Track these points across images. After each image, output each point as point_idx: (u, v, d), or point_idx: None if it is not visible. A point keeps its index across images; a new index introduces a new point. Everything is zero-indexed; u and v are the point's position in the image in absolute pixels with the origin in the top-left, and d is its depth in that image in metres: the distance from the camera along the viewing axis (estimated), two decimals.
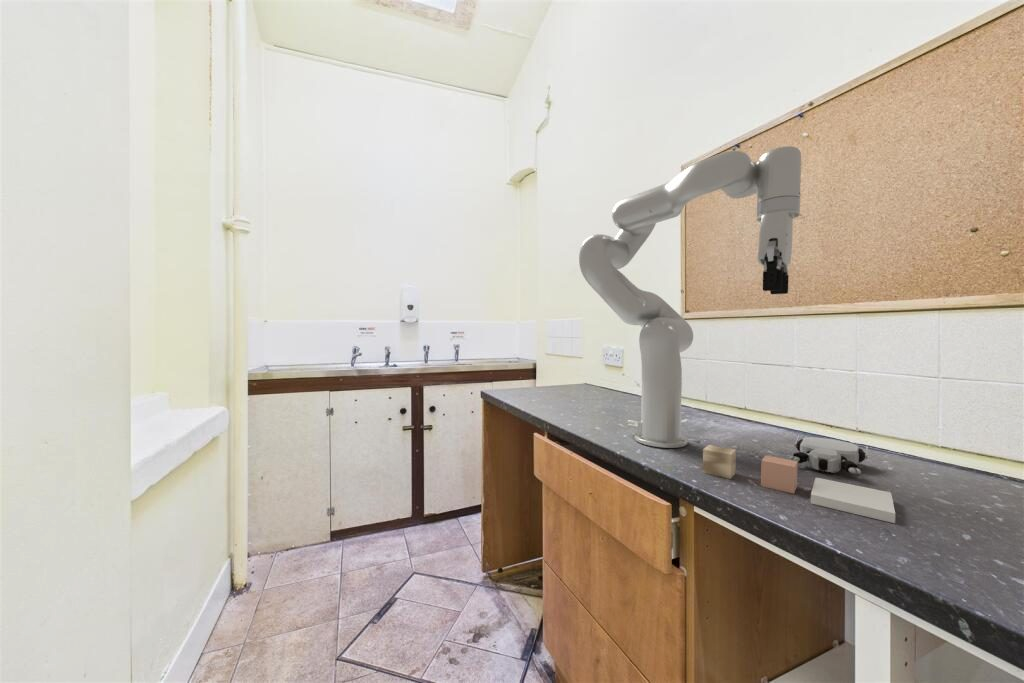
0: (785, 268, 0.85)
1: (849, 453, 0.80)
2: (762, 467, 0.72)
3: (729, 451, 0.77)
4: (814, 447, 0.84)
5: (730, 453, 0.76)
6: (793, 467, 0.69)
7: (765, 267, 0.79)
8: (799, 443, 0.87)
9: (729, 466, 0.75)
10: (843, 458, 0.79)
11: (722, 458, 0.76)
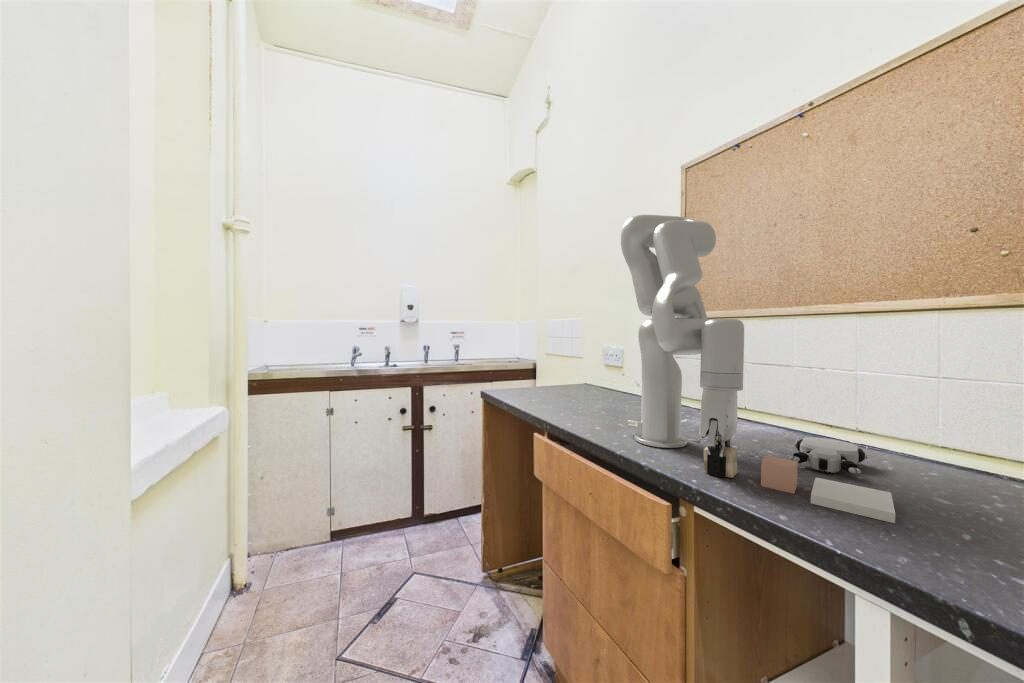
0: (728, 441, 0.79)
1: (849, 453, 0.80)
2: (762, 467, 0.72)
3: (729, 449, 0.77)
4: (814, 447, 0.84)
5: (730, 451, 0.76)
6: (793, 467, 0.69)
7: (709, 453, 0.76)
8: (799, 443, 0.88)
9: (730, 464, 0.75)
10: (843, 458, 0.79)
11: None
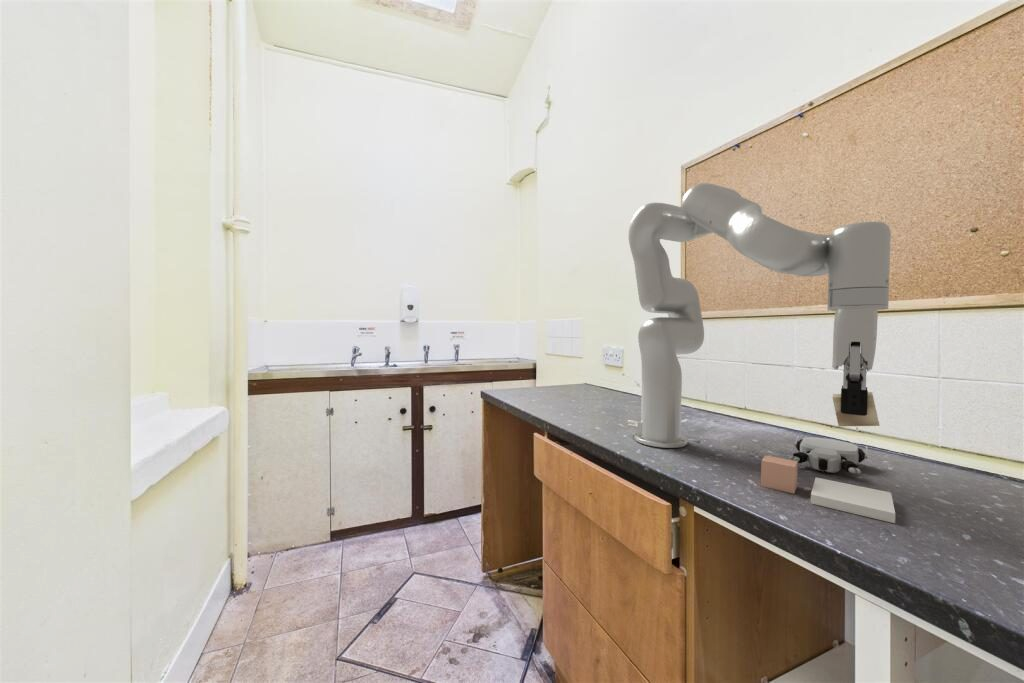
0: None
1: (849, 453, 0.80)
2: (762, 467, 0.72)
3: None
4: (814, 447, 0.84)
5: (870, 394, 0.62)
6: (793, 467, 0.69)
7: (845, 387, 0.63)
8: (799, 443, 0.88)
9: (874, 410, 0.62)
10: (843, 458, 0.79)
11: None
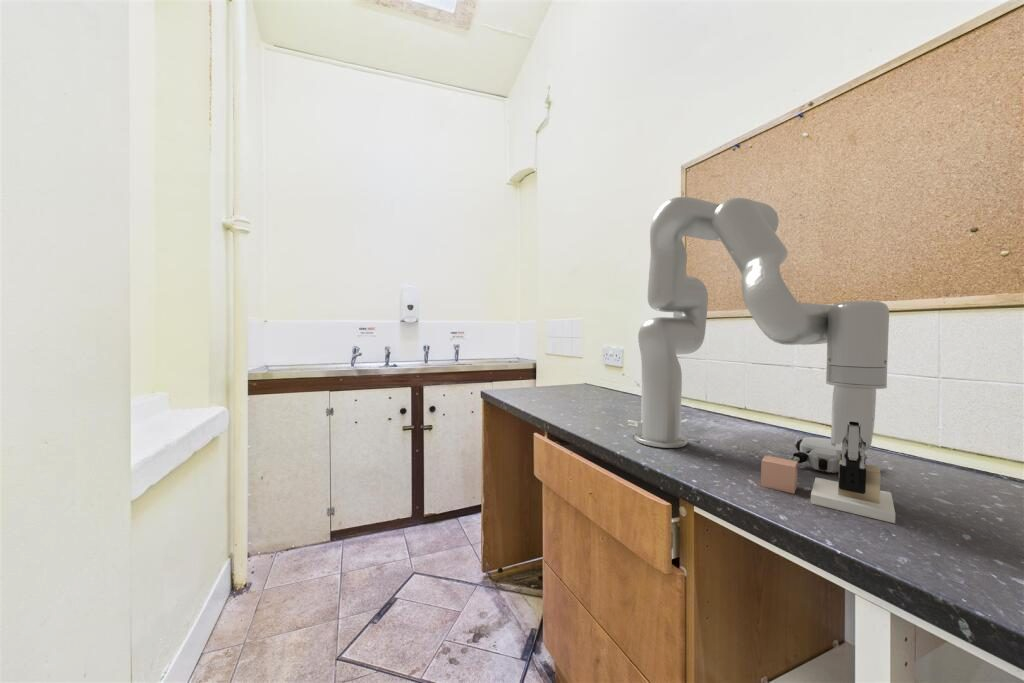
0: (862, 447, 0.66)
1: None
2: (762, 467, 0.72)
3: (874, 468, 0.63)
4: (814, 447, 0.84)
5: (878, 471, 0.62)
6: (793, 467, 0.69)
7: (843, 464, 0.62)
8: (799, 443, 0.88)
9: (878, 487, 0.61)
10: None
11: (867, 478, 0.62)
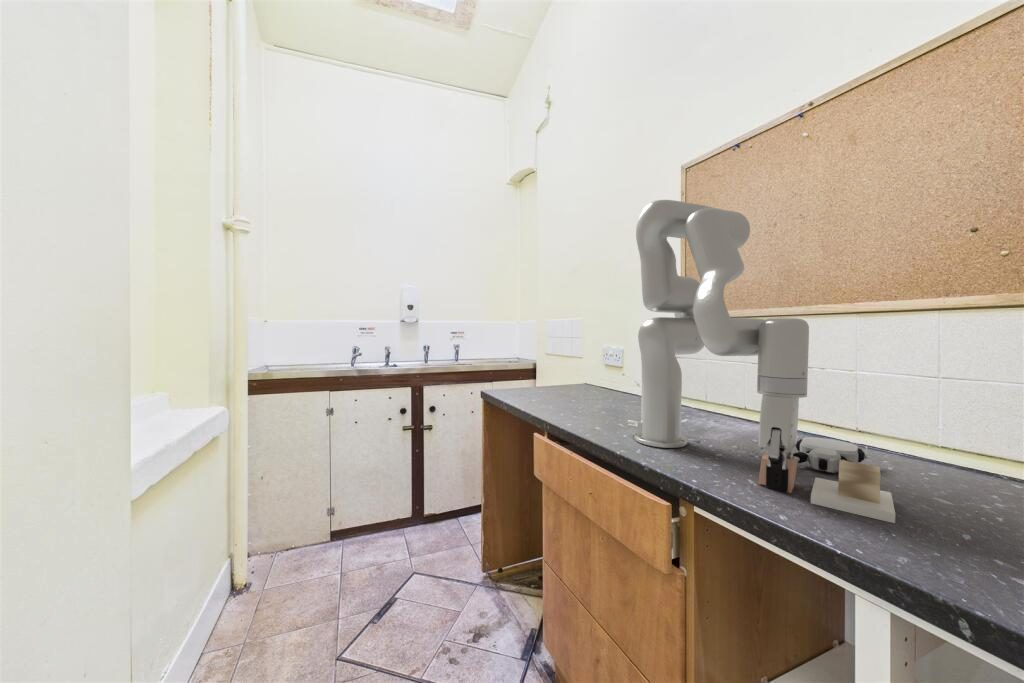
0: (788, 451, 0.72)
1: (849, 453, 0.80)
2: (761, 465, 0.72)
3: (874, 468, 0.63)
4: (814, 447, 0.84)
5: (878, 471, 0.62)
6: (793, 467, 0.69)
7: (769, 466, 0.70)
8: (799, 443, 0.88)
9: (878, 487, 0.61)
10: (843, 458, 0.79)
11: (867, 478, 0.62)
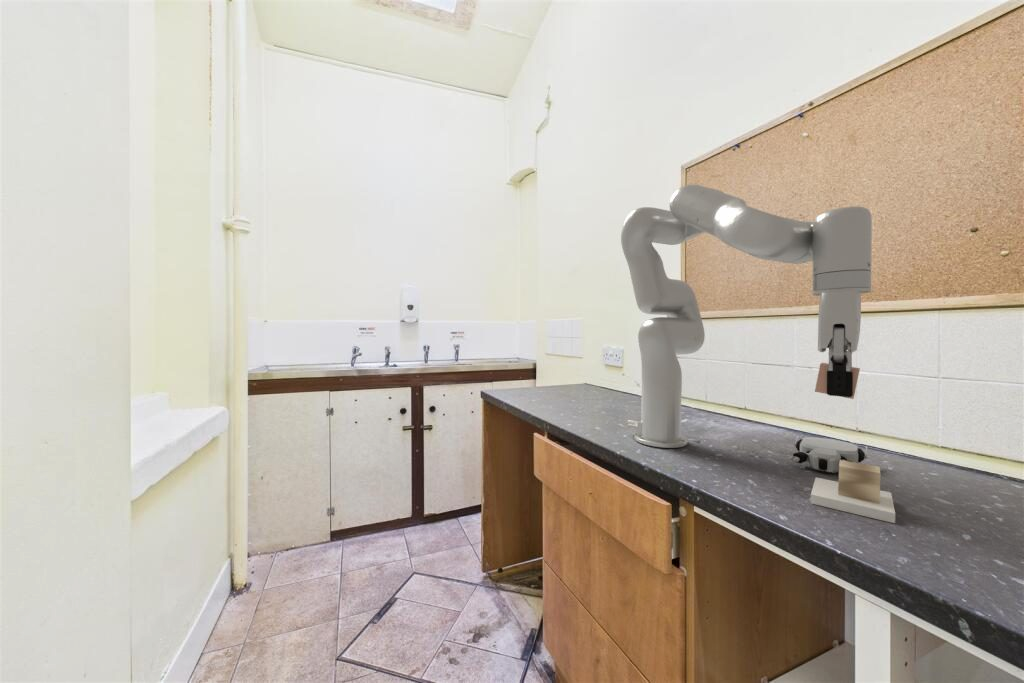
0: None
1: (849, 453, 0.80)
2: (819, 371, 0.66)
3: (874, 468, 0.63)
4: (814, 447, 0.84)
5: (878, 471, 0.62)
6: (857, 370, 0.63)
7: (830, 369, 0.64)
8: (799, 443, 0.88)
9: (878, 487, 0.61)
10: (843, 458, 0.79)
11: (867, 478, 0.62)
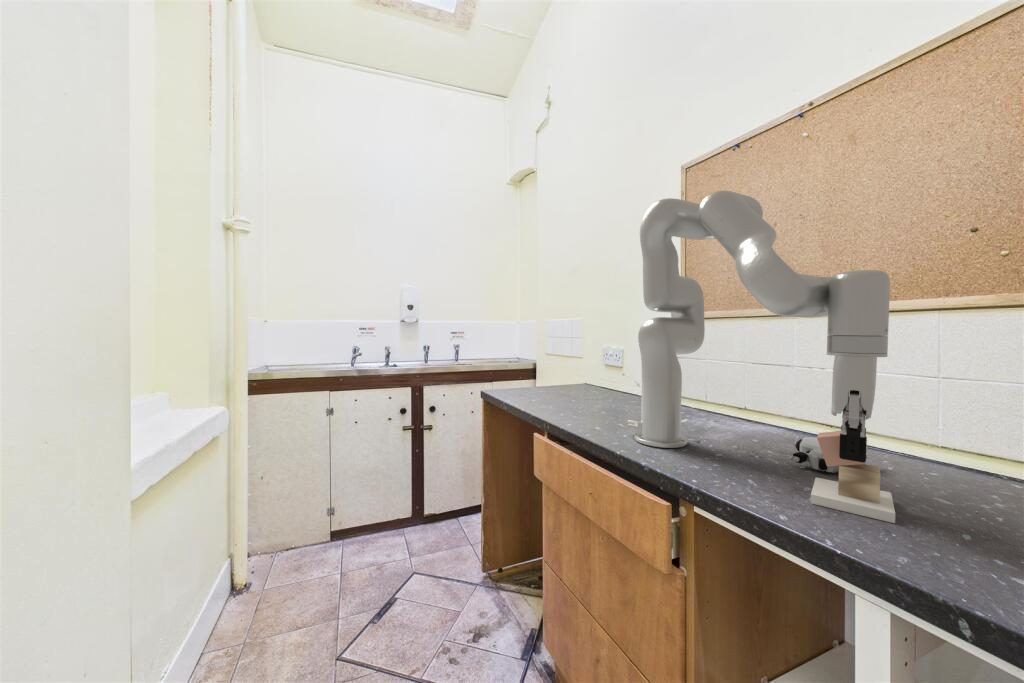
0: None
1: None
2: (820, 445, 0.66)
3: (874, 468, 0.63)
4: (814, 447, 0.84)
5: (878, 471, 0.62)
6: None
7: (844, 432, 0.62)
8: (799, 443, 0.88)
9: (878, 487, 0.61)
10: None
11: (867, 478, 0.62)
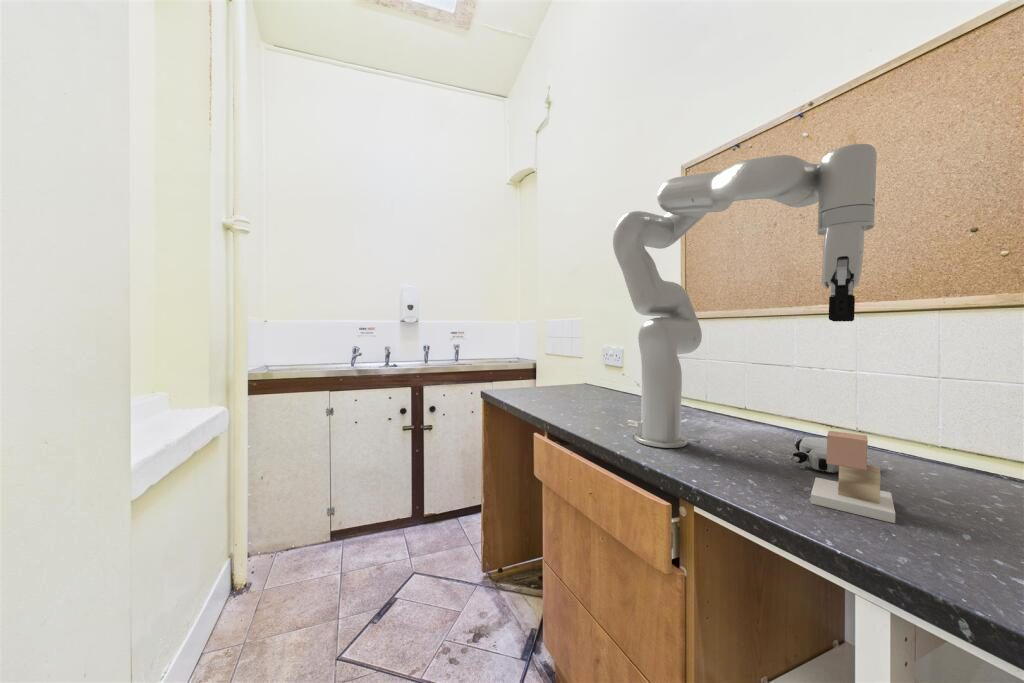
0: None
1: None
2: (827, 442, 0.66)
3: (874, 468, 0.63)
4: (814, 447, 0.84)
5: (878, 471, 0.62)
6: (865, 441, 0.62)
7: (833, 292, 0.64)
8: (798, 443, 0.88)
9: (878, 487, 0.61)
10: None
11: (867, 478, 0.62)
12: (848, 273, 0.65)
